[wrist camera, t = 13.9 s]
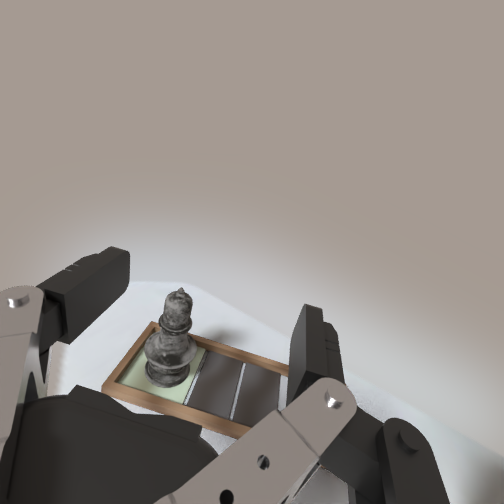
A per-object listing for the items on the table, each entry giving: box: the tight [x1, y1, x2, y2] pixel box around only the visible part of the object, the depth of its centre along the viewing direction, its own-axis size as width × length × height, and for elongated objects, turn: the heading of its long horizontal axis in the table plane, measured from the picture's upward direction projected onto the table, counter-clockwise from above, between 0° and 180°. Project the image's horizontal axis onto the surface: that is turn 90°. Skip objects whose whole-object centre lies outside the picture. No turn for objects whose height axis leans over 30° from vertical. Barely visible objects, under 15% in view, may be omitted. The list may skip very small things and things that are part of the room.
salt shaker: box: [144, 287, 197, 388], centre depth 31 cm, size 6×6×12 cm
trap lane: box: [101, 321, 346, 469], centre depth 33 cm, size 28×11×1 cm, turn 81°
